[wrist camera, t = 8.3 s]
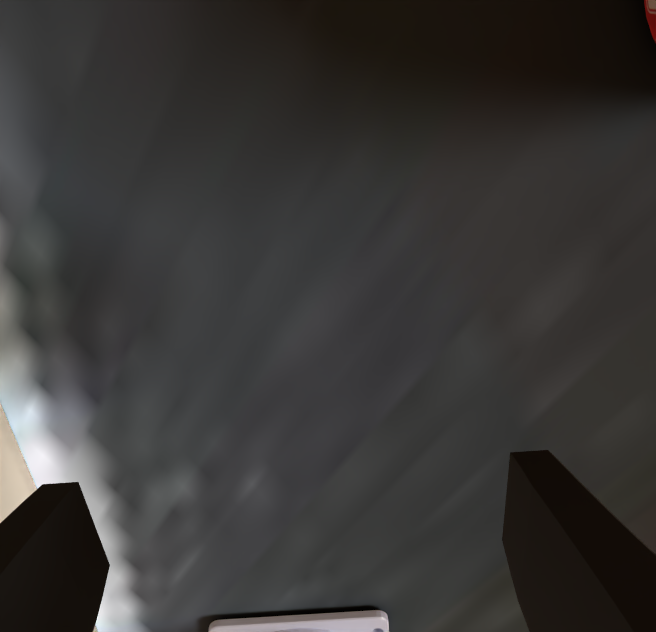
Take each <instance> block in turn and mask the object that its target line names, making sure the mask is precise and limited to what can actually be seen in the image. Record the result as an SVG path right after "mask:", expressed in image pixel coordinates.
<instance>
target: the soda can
mask: <svg viewBox="0 0 656 632" xmlns="http://www.w3.org/2000/svg"><path fill="white" fill-rule="evenodd" d="M644 4H645V12H646V18H647V21H648V24H649V27H650V31H651V34H652V37H653V39H654V41H655V43H656V0H644Z"/></svg>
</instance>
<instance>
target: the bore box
mask: <svg viewBox="0 0 656 632" xmlns="http://www.w3.org/2000/svg"><path fill="white" fill-rule="evenodd" d="M36 490H37V488H36V485H35V483H34V481H33V478H32V476H31V474H30V471H29V469H28V467H27V464H26V462H25V460H24V457H23V455H22V453H21V450H20V448H19V446H18V443H17V441H16V439H15V436H14V434H13V432H12V429H11V427H10V424H9V422H8V420H7V417H6V415H5V413H4V410H3V408H2V406H1V403H0V523H1V522H2V521H3V520H4V519H5V518H6V517H7V516H8V515H9V514H11V513H12V512H13V511H14V510H15V509H16V508H17V507H18V506H19V505H20V504H21V503H22V502H23V501H25V500H26V499H27V498H28V497H29V496H30V495H31V494H32V493H33V492H35V491H36ZM93 632H98V631H97V628H96V626H95V627H94V630H93Z"/></svg>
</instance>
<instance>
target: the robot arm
mask: <svg viewBox="0 0 656 632" xmlns="http://www.w3.org/2000/svg"><path fill="white" fill-rule="evenodd" d="M502 541H503V545H504V549H505V553H506V557H507V561H508V565H509V569H510V572H511V576H512V580H513V584H514V587H515V591H516V595H517V598H518V602H519V604H520V607H521V610H522V613H523V615H524V618H525V621H526V623H527V626H528V628H529V631H530V632H656V554H655V553H654V552H653V551H652V550H650V549H649V548H648V547H647V546H646V545H645V544H644V543H643V542H642V541H641V540H640V539H639V538H637V537H636V536H635V535H634V534H633V533H632V532H631V531H630V530H629V529H628V528H627V527H626V526H625V525H624V524H623V523H622V522H620V521H619V520H618V519H617V518H616V517H615V516H614V515H613V514H612V513H611V512H610V511H609V510H608V509H607V508H606V507H605V506H604V505H603V504H602V503H601V502H600V501H599V500H598V499H597V498H596V497H595V496H594V495H593V494H592V493H591V492H590V491H589V490H588V489H587V488H586V487H585V486H584V485H583V484H582V483H581V482H580V481H579V480H578V479H577V478H576V477H575V476H574V475H573V474H572V473H571V472H570V471H569V470H568V469H567V468H566V467H565V466H564V465H563V464H562V463H561V462H560V461H559V460H558V459H557V458H556V457H555V456H554V455H553V454H552V453H551V452H549V451H548V450H541V451H526V452H512V453H510V462H509V472H508V483H507V494H506V504H505V515H504V526H503V537H502ZM109 566H110V564H109V562H108V559H107V557H106V554H105V551H104V549H103V546H102V543H101V541H100V538H99V535H98V533H97V530H96V528H95V525H94V522H93V520H92V517H91V514H90V512H89V509H88V506H87V504H86V501H85V499H84V496H83V493H82V491H81V488H80V485H79V483H78V482H71V483H57V484H43V485H41V486H40V487H39V488H38V489H37V490H36V491H35V492H33V493H32V494H31V495H30V496H29V497H28V498H27V499H26V500H25V501H23V502H22V503H21V504H20V505H19V506H18V507H17V508H16V509H15V510H14V511H13V512H12V513H11V514H9V515H8V516H7V517H6V518H5V519H4V520H3V521H2V522H1V523H0V632H93V630H94V627H95V623H96V620H97V616H98V612H99V608H100V604H101V601H102V596H103V592H104V588H105V583H106V579H107V575H108V570H109ZM208 632H389V623H388V616H387V614H386V613H385V612H383V611H381V610H369V611H352V612H336V613H320V614H303V615H287V616H271V617H254V618H238V619H222V620H215V621H213V622H212V623H211V624H210V626H209V631H208Z"/></svg>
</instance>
